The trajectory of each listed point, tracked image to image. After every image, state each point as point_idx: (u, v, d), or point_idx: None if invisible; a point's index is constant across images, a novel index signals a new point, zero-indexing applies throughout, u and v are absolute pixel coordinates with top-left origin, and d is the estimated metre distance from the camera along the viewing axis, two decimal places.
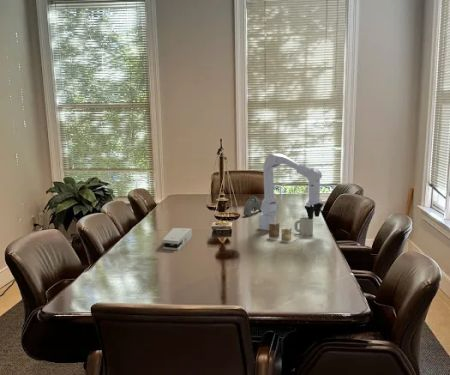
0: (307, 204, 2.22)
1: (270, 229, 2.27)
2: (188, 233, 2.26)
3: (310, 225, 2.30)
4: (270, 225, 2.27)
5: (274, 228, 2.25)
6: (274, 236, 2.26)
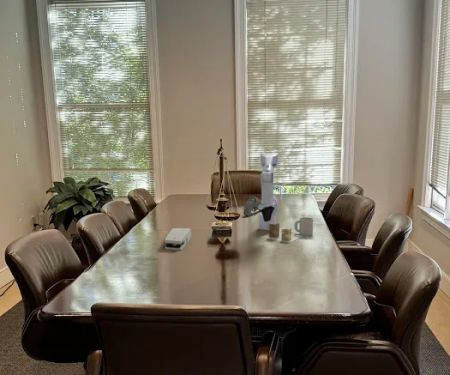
0: (259, 207, 2.15)
1: (270, 229, 2.27)
2: (188, 233, 2.26)
3: (310, 225, 2.30)
4: (270, 225, 2.27)
5: (274, 228, 2.25)
6: (274, 236, 2.26)
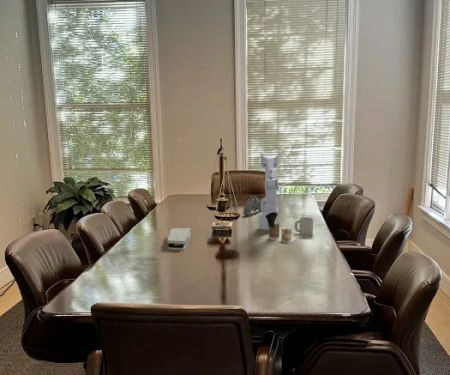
0: (263, 213, 2.18)
1: (270, 229, 2.27)
2: None
3: (310, 225, 2.30)
4: None
5: (274, 228, 2.25)
6: (274, 236, 2.26)
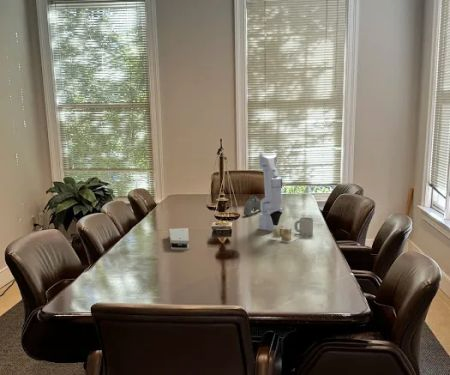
0: (268, 212, 2.22)
1: (278, 227, 2.33)
2: None
3: (310, 225, 2.30)
4: (280, 226, 2.35)
5: (283, 227, 2.33)
6: (279, 229, 2.29)
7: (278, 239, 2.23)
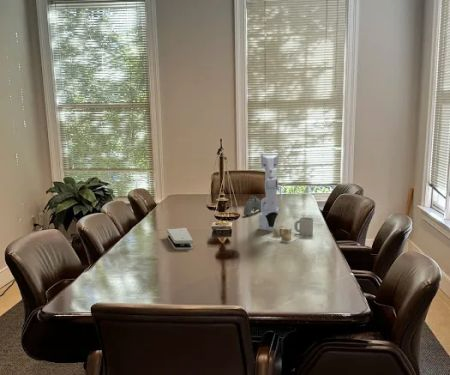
0: (263, 213, 2.18)
1: (278, 227, 2.33)
2: None
3: (310, 225, 2.30)
4: (280, 226, 2.35)
5: (283, 227, 2.33)
6: (279, 229, 2.29)
7: (278, 239, 2.23)
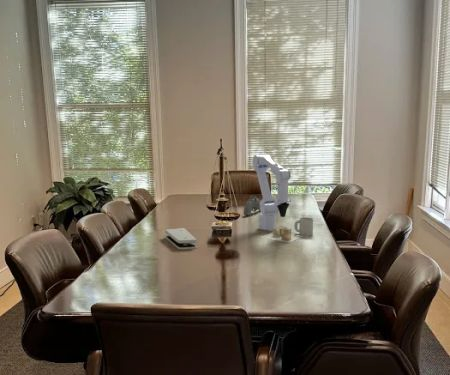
0: (275, 203, 2.25)
1: (278, 227, 2.33)
2: None
3: (310, 225, 2.30)
4: (280, 226, 2.35)
5: (283, 227, 2.33)
6: (279, 229, 2.29)
7: (278, 239, 2.23)
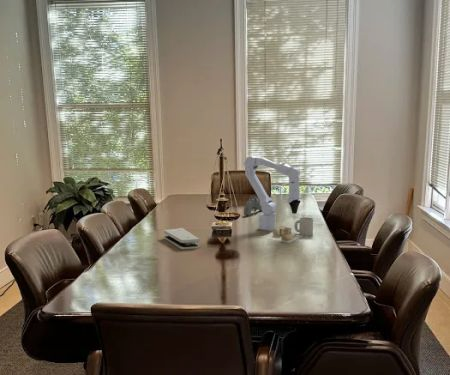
0: (287, 200, 2.33)
1: (278, 227, 2.33)
2: None
3: (310, 225, 2.30)
4: (280, 226, 2.35)
5: (283, 227, 2.33)
6: (279, 229, 2.29)
7: (278, 239, 2.23)
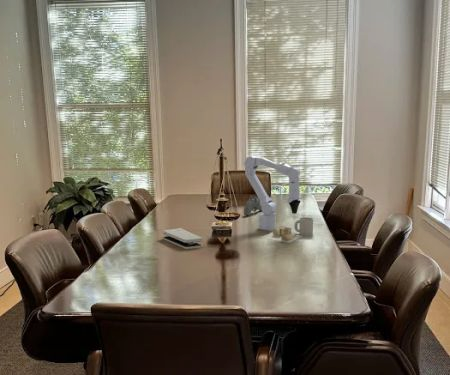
0: (287, 200, 2.33)
1: (278, 227, 2.33)
2: None
3: (310, 225, 2.30)
4: (280, 226, 2.35)
5: (283, 227, 2.33)
6: (279, 229, 2.29)
7: (278, 239, 2.23)
